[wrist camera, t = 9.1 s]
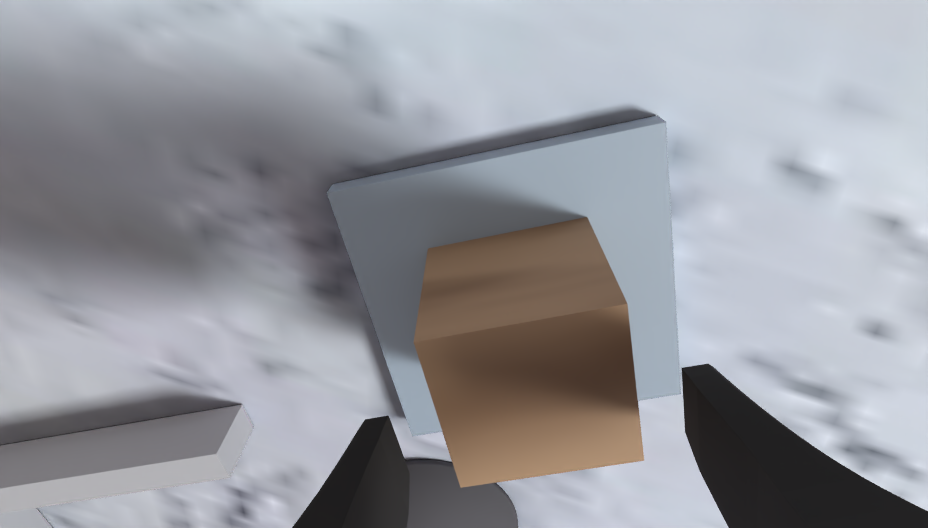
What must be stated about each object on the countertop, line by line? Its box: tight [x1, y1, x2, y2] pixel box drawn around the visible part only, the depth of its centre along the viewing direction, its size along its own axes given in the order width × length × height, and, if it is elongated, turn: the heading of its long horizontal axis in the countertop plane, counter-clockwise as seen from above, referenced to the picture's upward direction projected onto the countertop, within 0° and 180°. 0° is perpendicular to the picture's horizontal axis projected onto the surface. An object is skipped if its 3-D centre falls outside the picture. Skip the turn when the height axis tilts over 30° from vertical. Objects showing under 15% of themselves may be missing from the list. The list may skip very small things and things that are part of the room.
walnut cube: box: [414, 217, 644, 488], centre depth 16 cm, size 5×5×5 cm
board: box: [327, 116, 681, 436], centre depth 19 cm, size 10×10×1 cm
